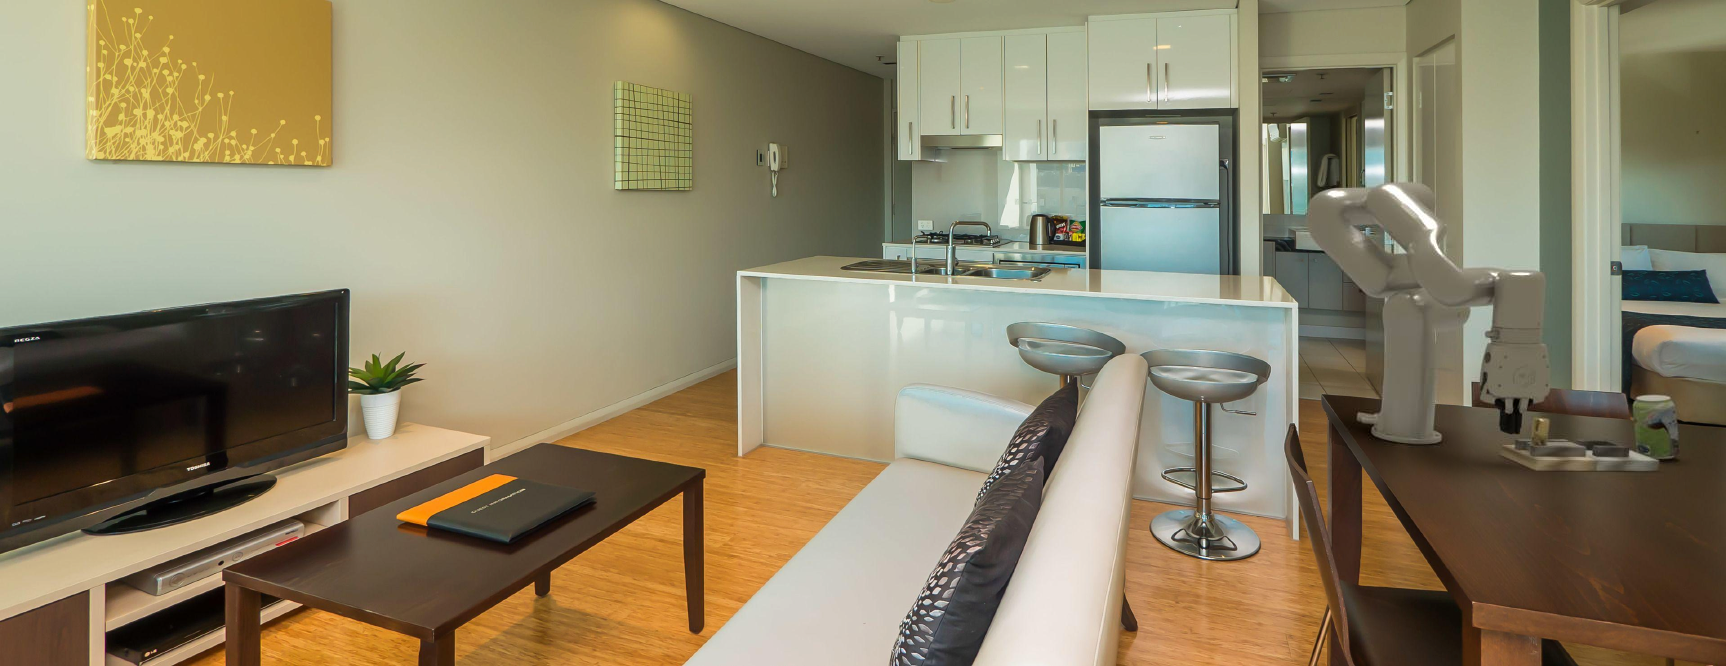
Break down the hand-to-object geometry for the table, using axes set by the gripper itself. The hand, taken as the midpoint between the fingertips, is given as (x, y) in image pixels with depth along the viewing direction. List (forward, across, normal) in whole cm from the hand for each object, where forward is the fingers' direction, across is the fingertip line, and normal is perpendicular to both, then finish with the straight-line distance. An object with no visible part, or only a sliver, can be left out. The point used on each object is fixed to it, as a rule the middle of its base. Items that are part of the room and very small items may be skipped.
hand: (1509, 432), depth 161 cm
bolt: (+4, +8, +1) cm, 9 cm away
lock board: (+6, +13, +1) cm, 14 cm away
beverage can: (+6, +29, +5) cm, 30 cm away
